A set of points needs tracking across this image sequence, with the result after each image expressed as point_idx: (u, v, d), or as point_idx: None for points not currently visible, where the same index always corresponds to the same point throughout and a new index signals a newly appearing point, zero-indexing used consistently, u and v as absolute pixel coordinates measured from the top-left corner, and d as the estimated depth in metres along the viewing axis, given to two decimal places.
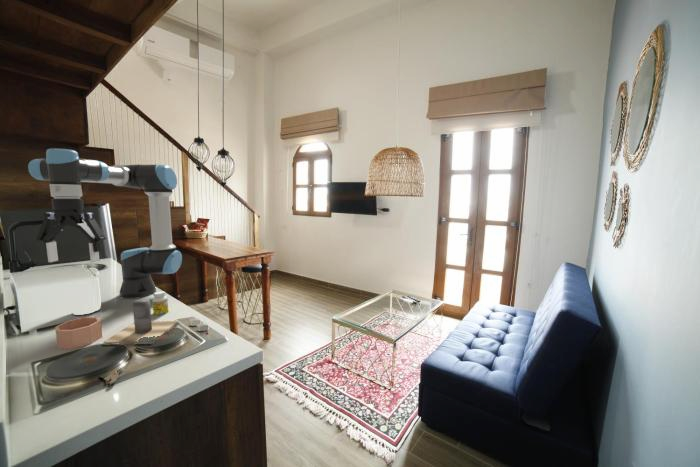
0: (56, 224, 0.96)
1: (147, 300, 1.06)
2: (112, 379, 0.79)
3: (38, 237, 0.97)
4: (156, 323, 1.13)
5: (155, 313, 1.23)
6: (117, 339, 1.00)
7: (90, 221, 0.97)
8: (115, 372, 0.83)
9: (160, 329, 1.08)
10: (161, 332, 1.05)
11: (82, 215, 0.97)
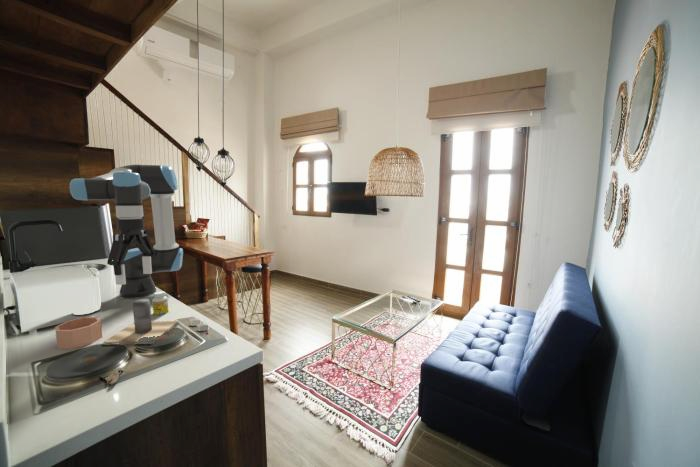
0: None
1: (147, 300, 1.06)
2: (113, 379, 0.79)
3: None
4: (156, 323, 1.13)
5: (155, 313, 1.23)
6: (117, 339, 1.00)
7: (113, 243, 0.95)
8: (116, 372, 0.83)
9: (160, 329, 1.08)
10: (161, 332, 1.05)
11: None
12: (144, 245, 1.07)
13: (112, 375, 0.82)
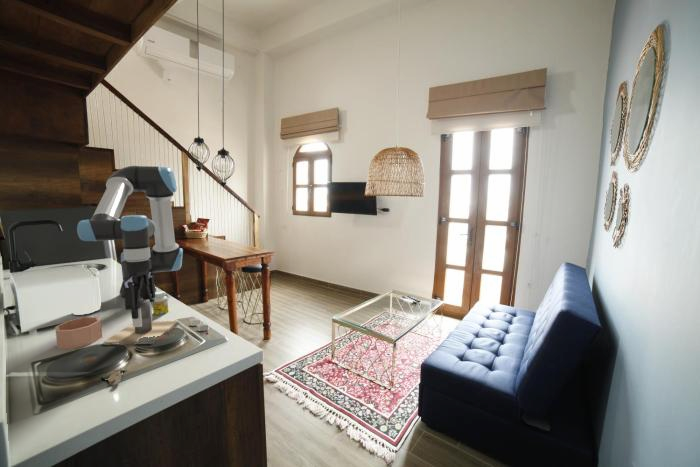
0: None
1: (147, 300, 1.06)
2: (116, 380, 0.79)
3: None
4: (156, 323, 1.13)
5: (155, 313, 1.23)
6: (117, 339, 1.00)
7: (125, 290, 0.98)
8: (118, 373, 0.83)
9: (160, 329, 1.08)
10: (161, 332, 1.05)
11: None
12: (148, 288, 1.07)
13: (114, 376, 0.82)
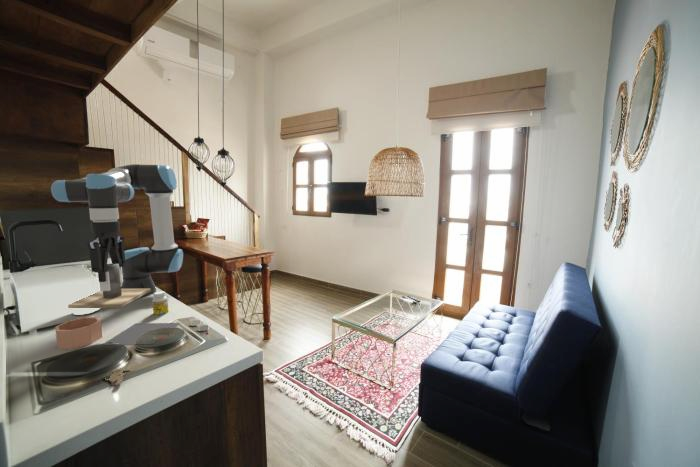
0: None
1: (116, 264, 1.02)
2: (118, 380, 0.79)
3: None
4: (127, 290, 1.09)
5: (155, 313, 1.23)
6: (83, 303, 0.96)
7: (90, 251, 0.94)
8: (120, 373, 0.83)
9: (130, 295, 1.04)
10: (131, 297, 1.01)
11: None
12: (117, 252, 1.03)
13: (116, 376, 0.82)
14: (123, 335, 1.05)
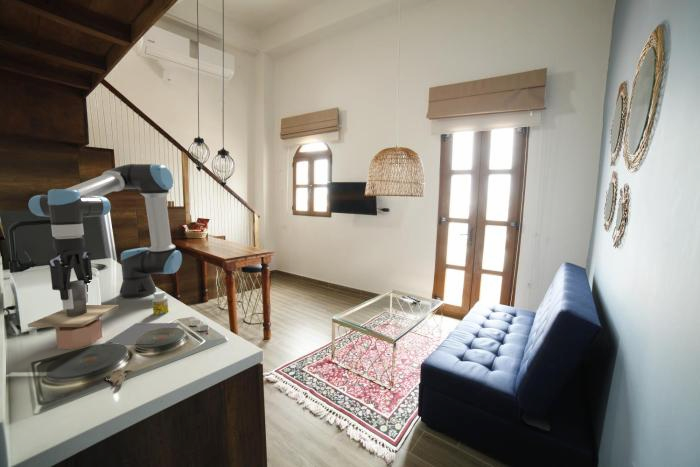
0: None
1: (80, 281, 0.99)
2: (119, 381, 0.79)
3: None
4: (94, 307, 1.06)
5: (155, 313, 1.23)
6: (44, 322, 0.93)
7: (51, 269, 0.92)
8: (121, 374, 0.83)
9: (95, 312, 1.01)
10: (95, 315, 0.99)
11: None
12: (82, 268, 1.00)
13: (118, 376, 0.81)
14: (123, 335, 1.05)
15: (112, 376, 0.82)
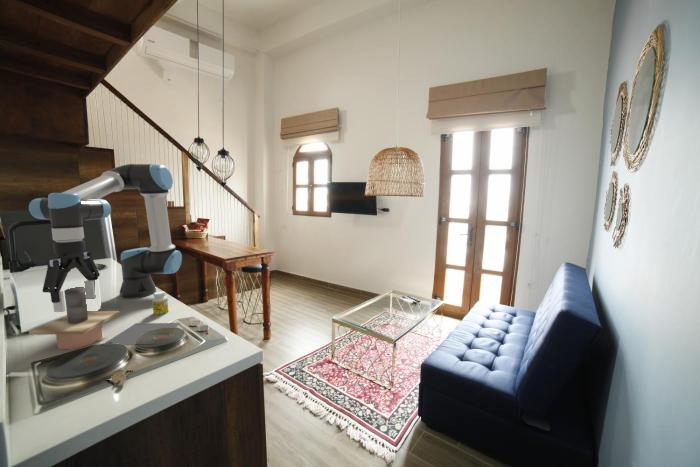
0: None
1: (81, 288, 1.00)
2: (121, 381, 0.79)
3: None
4: (95, 313, 1.06)
5: (155, 313, 1.23)
6: (45, 329, 0.94)
7: (48, 269, 0.91)
8: (123, 374, 0.82)
9: (96, 319, 1.01)
10: (96, 322, 0.99)
11: None
12: (86, 268, 1.02)
13: (119, 377, 0.81)
14: (123, 335, 1.05)
15: (113, 376, 0.82)
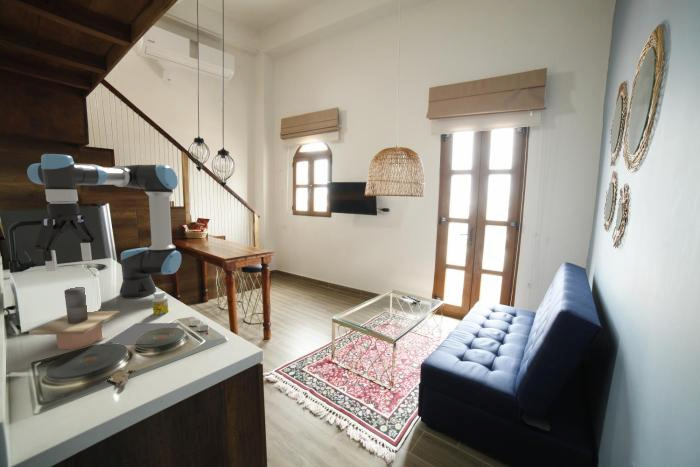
0: None
1: (81, 288, 1.00)
2: (123, 381, 0.78)
3: None
4: (95, 313, 1.06)
5: (155, 313, 1.23)
6: (45, 329, 0.94)
7: (42, 228, 0.91)
8: (124, 374, 0.82)
9: (96, 319, 1.01)
10: (96, 322, 0.99)
11: None
12: (81, 231, 1.03)
13: (121, 377, 0.81)
14: (123, 335, 1.05)
15: (115, 377, 0.82)
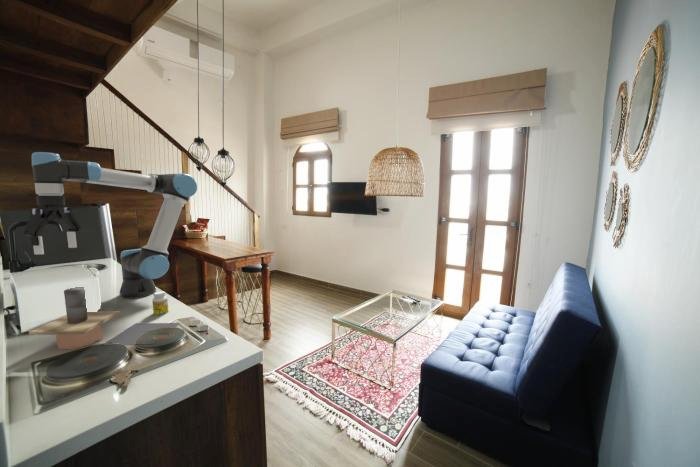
0: None
1: (81, 288, 1.00)
2: (125, 382, 0.78)
3: None
4: (95, 313, 1.06)
5: (155, 313, 1.23)
6: (45, 329, 0.94)
7: (30, 216, 1.05)
8: (127, 375, 0.82)
9: (96, 319, 1.01)
10: (96, 322, 0.99)
11: None
12: (67, 221, 1.17)
13: (123, 378, 0.81)
14: (123, 335, 1.05)
15: (117, 377, 0.81)
